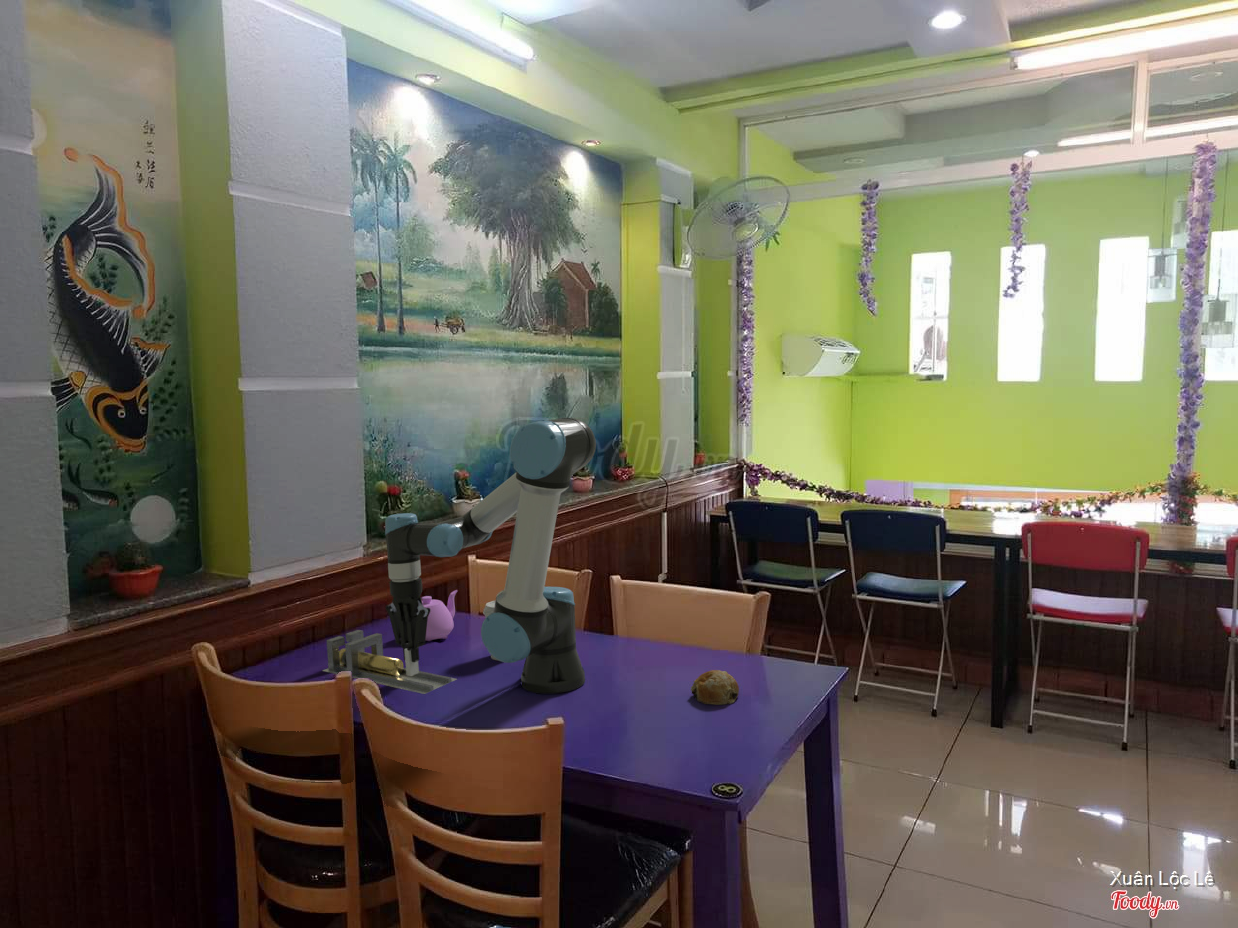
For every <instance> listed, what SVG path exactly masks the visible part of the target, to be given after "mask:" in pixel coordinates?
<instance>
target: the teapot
mask: <svg viewBox="0 0 1238 928" xmlns="http://www.w3.org/2000/svg"><path fill="white" fill-rule="evenodd" d="M457 593H458V589H455V590H453V591H452V592H450V594H449V596H448V600H447V605H445V603H444V602H443V601H442V600H439V599H432V596H431V595H425V596H421V597H420V598H421V600H422V605H423V606H424V607H425V608H430V613H429V616H428V620H427V629H426V639H425V642H432V641H433V640H438V639H439V640H446V639H448V635H449V634H450V633H451V632H452V631H453V629H454V623H455V622H454V620H453V619H454V617H455V613H456V607H455V605H456V604H455V596H456V594H457Z"/></svg>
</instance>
